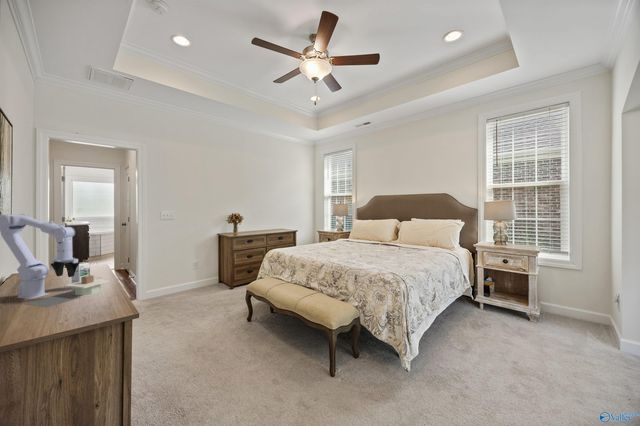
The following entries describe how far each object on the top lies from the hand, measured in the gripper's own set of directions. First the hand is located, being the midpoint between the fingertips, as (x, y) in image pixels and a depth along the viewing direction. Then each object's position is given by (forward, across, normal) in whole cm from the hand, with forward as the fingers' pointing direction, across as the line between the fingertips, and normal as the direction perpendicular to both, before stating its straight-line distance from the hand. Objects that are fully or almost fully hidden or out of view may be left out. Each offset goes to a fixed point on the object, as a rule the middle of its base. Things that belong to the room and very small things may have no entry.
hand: (65, 276), depth 135 cm
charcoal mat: (+10, +2, -7) cm, 13 cm away
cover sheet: (+6, +6, +6) cm, 10 cm away
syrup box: (+11, -6, +12) cm, 17 cm away
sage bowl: (+10, +6, +7) cm, 14 cm away
